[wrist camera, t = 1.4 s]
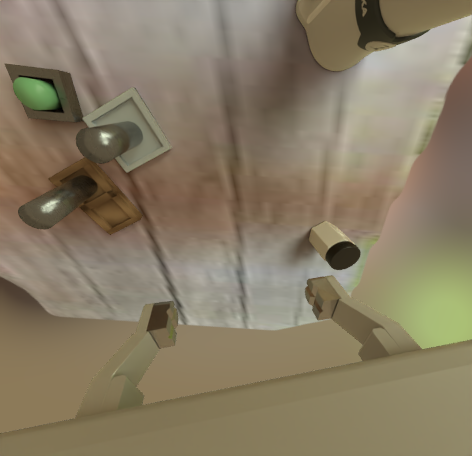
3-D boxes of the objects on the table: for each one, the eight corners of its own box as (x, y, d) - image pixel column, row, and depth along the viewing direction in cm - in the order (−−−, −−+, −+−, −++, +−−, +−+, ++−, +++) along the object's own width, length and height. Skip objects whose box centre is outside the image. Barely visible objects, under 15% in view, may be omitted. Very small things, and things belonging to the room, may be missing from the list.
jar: (340, 227, 58) (368, 252, 48) (322, 246, 61) (345, 273, 51) (320, 217, 54) (346, 242, 45) (302, 237, 58) (322, 264, 48)
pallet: (55, 175, 39) (47, 178, 37) (89, 155, 38) (83, 158, 36) (113, 230, 48) (110, 234, 46) (142, 215, 47) (140, 219, 45)
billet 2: (115, 120, 35) (70, 126, 23) (140, 122, 36) (108, 129, 24) (121, 145, 37) (82, 162, 26) (144, 146, 38) (117, 164, 26)
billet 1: (70, 174, 38) (11, 203, 27) (94, 175, 39) (46, 204, 27) (78, 194, 41) (27, 229, 29) (100, 195, 41) (59, 229, 30)
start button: (28, 78, 30) (6, 75, 26) (57, 82, 30) (39, 79, 27) (40, 108, 32) (21, 108, 29) (66, 110, 32) (51, 111, 29)
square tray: (86, 118, 35) (81, 118, 33) (135, 88, 33) (132, 87, 32) (129, 170, 41) (126, 172, 39) (172, 147, 39) (170, 148, 38)
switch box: (21, 67, 30) (4, 63, 27) (69, 73, 31) (58, 70, 29) (41, 117, 34) (28, 118, 31) (84, 121, 35) (75, 122, 32)
